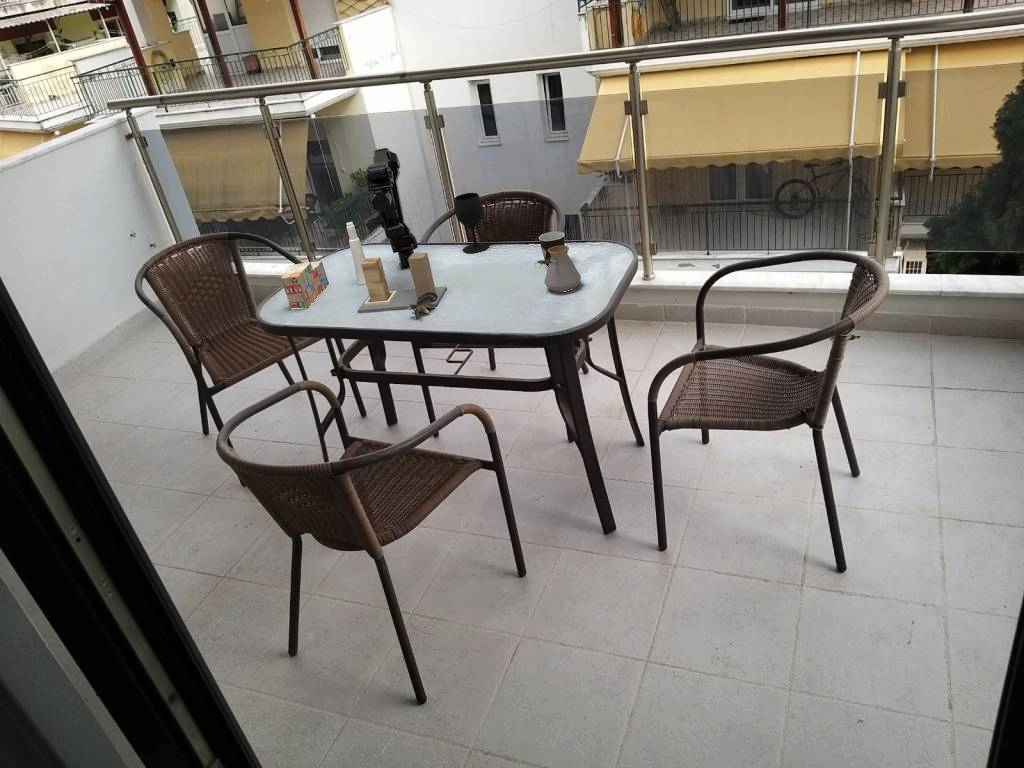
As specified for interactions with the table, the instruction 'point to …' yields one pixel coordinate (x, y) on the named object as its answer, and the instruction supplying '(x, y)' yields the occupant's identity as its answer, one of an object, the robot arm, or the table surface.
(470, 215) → the wine glass
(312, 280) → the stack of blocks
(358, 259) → the cosmetic bottle
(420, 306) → the chipmunk figurine
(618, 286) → the table surface
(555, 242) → the coffee mug
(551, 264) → the coffee pot
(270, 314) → the table surface
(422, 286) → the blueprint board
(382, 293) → the oak block
